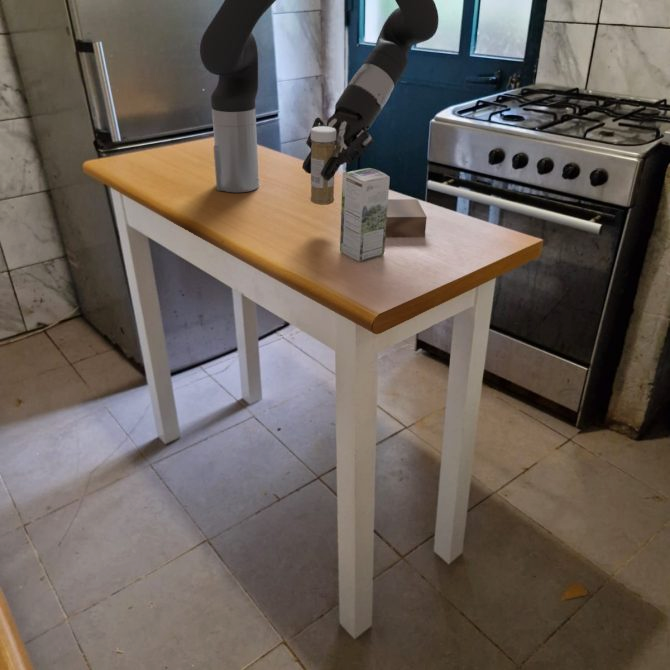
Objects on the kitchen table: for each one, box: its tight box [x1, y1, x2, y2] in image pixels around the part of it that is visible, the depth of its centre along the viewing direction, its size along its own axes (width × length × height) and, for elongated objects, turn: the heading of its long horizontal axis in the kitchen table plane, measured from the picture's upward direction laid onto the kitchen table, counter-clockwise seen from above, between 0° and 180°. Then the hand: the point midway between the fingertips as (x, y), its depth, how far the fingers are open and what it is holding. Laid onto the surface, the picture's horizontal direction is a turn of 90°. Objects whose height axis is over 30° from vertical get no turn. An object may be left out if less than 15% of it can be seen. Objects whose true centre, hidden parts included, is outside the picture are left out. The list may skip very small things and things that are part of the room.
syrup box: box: [339, 167, 391, 263], centre depth 107 cm, size 6×6×14 cm
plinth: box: [385, 198, 428, 238], centre depth 121 cm, size 10×10×4 cm
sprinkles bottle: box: [309, 126, 336, 206], centre depth 115 cm, size 5×5×13 cm
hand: (315, 173), depth 114 cm, fingers closed on sprinkles bottle, 4 cm apart
